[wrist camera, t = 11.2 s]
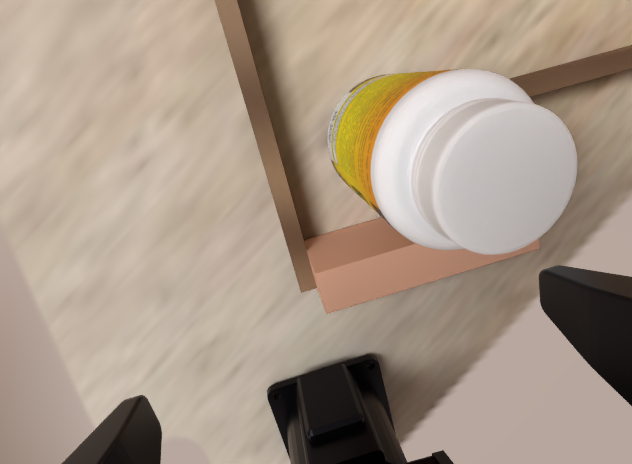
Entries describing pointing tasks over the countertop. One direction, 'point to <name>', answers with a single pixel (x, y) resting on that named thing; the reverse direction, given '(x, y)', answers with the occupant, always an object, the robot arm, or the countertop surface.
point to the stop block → (383, 263)
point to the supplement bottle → (454, 158)
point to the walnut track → (268, 145)
